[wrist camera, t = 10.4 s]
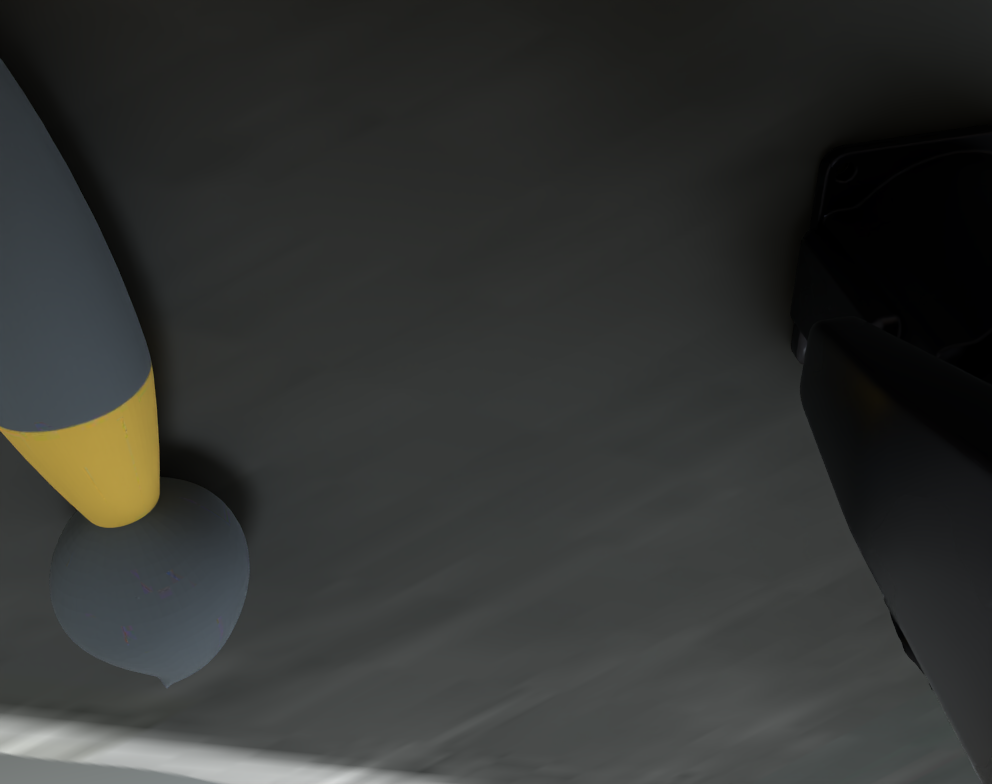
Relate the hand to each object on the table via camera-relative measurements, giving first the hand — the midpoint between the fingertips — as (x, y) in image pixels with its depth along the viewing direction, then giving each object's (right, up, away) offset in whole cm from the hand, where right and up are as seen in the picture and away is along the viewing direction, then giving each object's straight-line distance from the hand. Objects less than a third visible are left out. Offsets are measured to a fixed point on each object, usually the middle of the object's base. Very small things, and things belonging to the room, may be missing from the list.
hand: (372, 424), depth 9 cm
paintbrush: (-9, +1, +15) cm, 17 cm away
